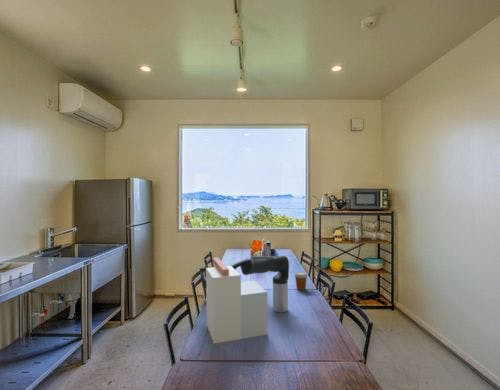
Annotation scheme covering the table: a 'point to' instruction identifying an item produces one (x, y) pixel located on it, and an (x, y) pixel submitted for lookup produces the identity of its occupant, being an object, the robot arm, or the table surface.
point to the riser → (234, 306)
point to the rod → (220, 266)
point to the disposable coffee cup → (301, 280)
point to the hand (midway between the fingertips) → (213, 266)
